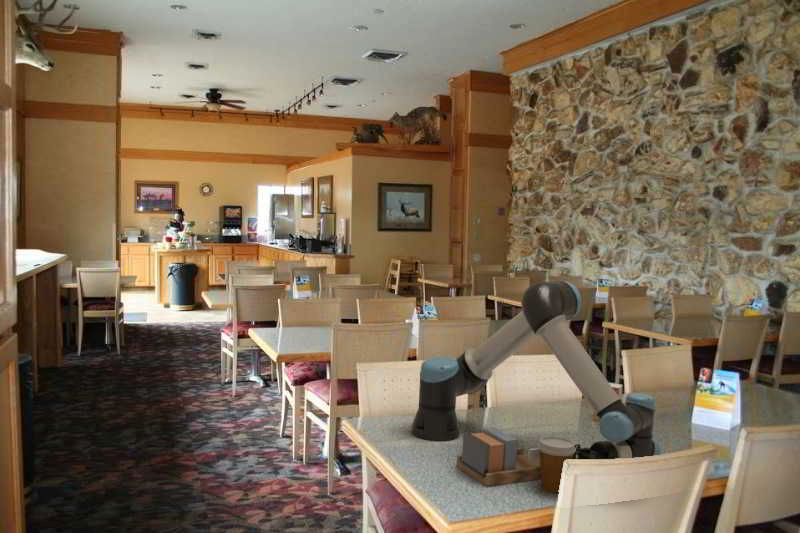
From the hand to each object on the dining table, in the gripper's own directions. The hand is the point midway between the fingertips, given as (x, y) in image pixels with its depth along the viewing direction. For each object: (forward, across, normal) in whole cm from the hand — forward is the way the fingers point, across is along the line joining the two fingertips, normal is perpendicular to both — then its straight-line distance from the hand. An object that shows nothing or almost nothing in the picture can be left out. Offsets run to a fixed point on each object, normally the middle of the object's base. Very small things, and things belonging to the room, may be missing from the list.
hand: (545, 463), depth 169 cm
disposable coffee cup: (-3, 0, -7) cm, 8 cm away
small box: (-62, +44, -7) cm, 77 cm away
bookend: (+12, +14, -5) cm, 19 cm away
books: (+7, +14, -5) cm, 16 cm away
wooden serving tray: (+2, +14, -7) cm, 16 cm away
